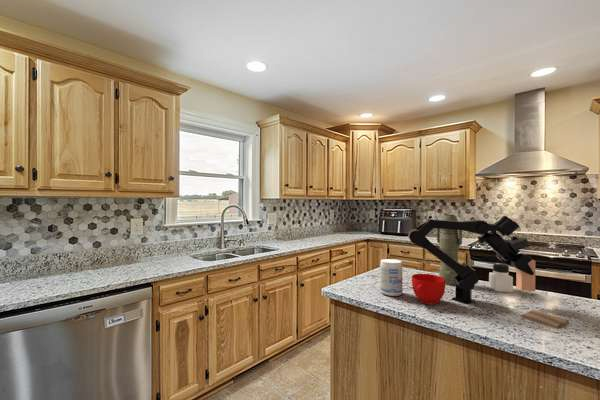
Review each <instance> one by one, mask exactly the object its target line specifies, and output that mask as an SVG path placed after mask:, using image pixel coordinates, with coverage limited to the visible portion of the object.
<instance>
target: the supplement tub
mask: <svg viewBox="0 0 600 400" xmlns="http://www.w3.org/2000/svg"><path fill="white" fill-rule="evenodd" d="M380 293H382V294H383V295H386V296H391V297H398V296H401V295H402V294H403V262H402V260H400V259H393V258H387V259H386V258H384V259H380Z"/></svg>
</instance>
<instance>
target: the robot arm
mask: <svg viewBox="0 0 600 400" xmlns="http://www.w3.org/2000/svg"><path fill="white" fill-rule="evenodd" d="M519 228H521V225H519V223H518V222H516V221H514V220H513V219H511V218H510V217H508V216H507V215H502V216H501V217H500V218H499V220H497V221H496V222H495V223H488V222H487V221H485V220H481V219H469V220H458V221H448V220H441V219H433V218H428V219H427V220H426V221H425V222H423V223H422V224H420V225H419V226H417V227H416V228H414V229H413V228H412V229H410V230H409V232H408V234H407V237H408V239H409V240H410V242H411V243H412V244H414V245H417V246H418V247H420V248H423V249H425V250H426V251H428V252H429V253H431V254H432V255H433V256H434V257H436V258H437V259H438V260H440V262H441V261H442V262H444V263H445V264H446V265H448V266H449V267H450V268H452V269H453V270H454V271H455V272H456V273H457V274H458V275H457V276H455V277H454V281H455V283H456V286H455V296H454V297H451V300H454V301H456V302H459V303H462V304H466V305H468V304H470V303H475V302H476V299H473V298H472V296H473V294H472V290H474V287H475V285H476V284H478V282H479V281H480V278H479V277H480V276H479V274H478V273H477V270H475V269H474V268H473V267H471V266H470V265H468V263H466V262H465V261H463V262H462V263H460V262H459V261H458V262H456V261H455V260H454V259H452V258H451V257H450V256H448V255H447V254H446V253H444V252H443V251H442V250H440V247H437V245H435V244H433V243H432V242H431V241H430V240H429V239H428V238H427V237H426V236H427V235H428V234H430V232H431V231H432V230H434V229H436V230H437V229H440V230H441V229H451V230H457V231H459V230H462V231H463V232H467V233H468V232H469V233H473V234H477V235H480V236H477V243H479V244H483V243H486V244H487V245H488V246H489V247H490V249H491V250H492V251H493V252H494V253H495V257H496V258H497V259H498V260H500V261H501V262H503V263H505V264H506V265H509V266H511V267H513V268H514V269H515V270H516V269H519V270H521V271H523V272H525V273H528V274H530V275H533V274H534V272H533V271H532V269H531V268H530V266H529V265H528V263H529V262H530V261H531V260H533V257H531V256H530V255H529V254H528V253H527V254H526V253H523V252H521V251H520V250H522V249H526V248H530V247H531V244H530V241H528V239H527V238H525V237H517V236H515V235H514V236H511V235H512V234H513V233H515V232H516V231H517V230H518V229H519ZM509 236H510V240H509V241H507V240H506V239H504V237H509Z"/></svg>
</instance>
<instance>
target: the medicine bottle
mask: <svg viewBox="0 0 600 400" xmlns="http://www.w3.org/2000/svg"><path fill="white" fill-rule="evenodd" d="M492 267H493V268H492V272H489V273H488V286H489V288H490V289H492V290H494V291H495V292H501V293H502V292H503V293H504V292H505V293H513V292H514V277H513V276H512V275H509V271H510V269H509V268H510V266H508V264H506V263H505V264H504V263H494V264H493V265H492Z"/></svg>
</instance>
